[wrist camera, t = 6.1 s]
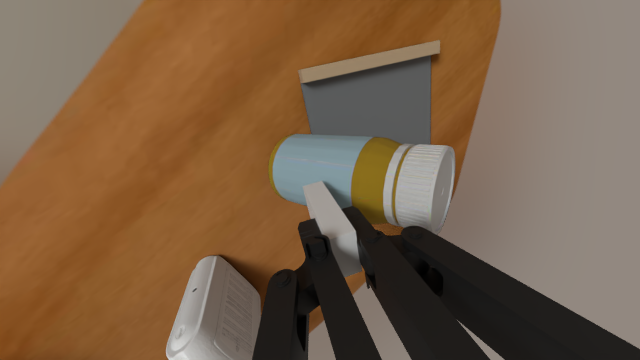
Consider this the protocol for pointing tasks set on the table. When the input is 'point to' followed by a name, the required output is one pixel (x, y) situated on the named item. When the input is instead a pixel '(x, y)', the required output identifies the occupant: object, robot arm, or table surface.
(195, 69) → the table surface
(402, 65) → the grey tray
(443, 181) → the bottle
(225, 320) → the photo printer
